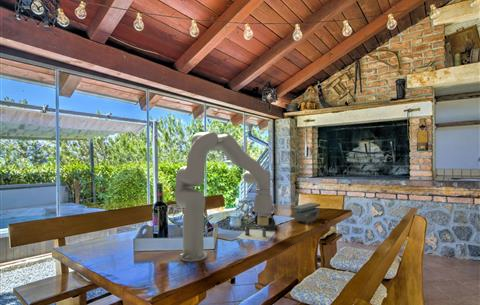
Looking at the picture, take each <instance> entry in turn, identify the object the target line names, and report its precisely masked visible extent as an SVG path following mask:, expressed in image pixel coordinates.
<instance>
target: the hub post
mask: <svg viewBox="0 0 480 305" xmlns="http://www.w3.org/2000/svg"><path fill="white" fill-rule="evenodd" d="M244 231H245V235H247V236H248V235H250V226H249V225H245V227H244Z"/></svg>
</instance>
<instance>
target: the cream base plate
mask: <svg viewBox="0 0 480 305" xmlns="http://www.w3.org/2000/svg"><path fill="white" fill-rule="evenodd" d="M261 229H262V230H261ZM261 229H250V235H248V236H247V235H245V230H244V231H243V232H241V234H239V235H238V236H236V239H241V240H242V239H243V240H250V241H251V240H252V241H262V242H269V240H270V239H271V238H272V237H273V236H274V235H275V233H276V231H275V230H266V228H263V227H262V228H261Z"/></svg>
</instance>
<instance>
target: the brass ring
mask: <svg viewBox="0 0 480 305" xmlns="http://www.w3.org/2000/svg"><path fill="white" fill-rule="evenodd" d="M256 225H258V226H261V225H263V226H265V225H269V216H258V217H257V224H256Z"/></svg>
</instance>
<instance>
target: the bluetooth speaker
mask: <svg viewBox="0 0 480 305" xmlns="http://www.w3.org/2000/svg"><path fill="white" fill-rule="evenodd" d="M258 216H269V215H268V213H258ZM260 226H261V227H262V228H266V231H274V229H275V227H276V220H275V217H274V216H273V217H272V223H271V225H265V226H263V225H260Z"/></svg>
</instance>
